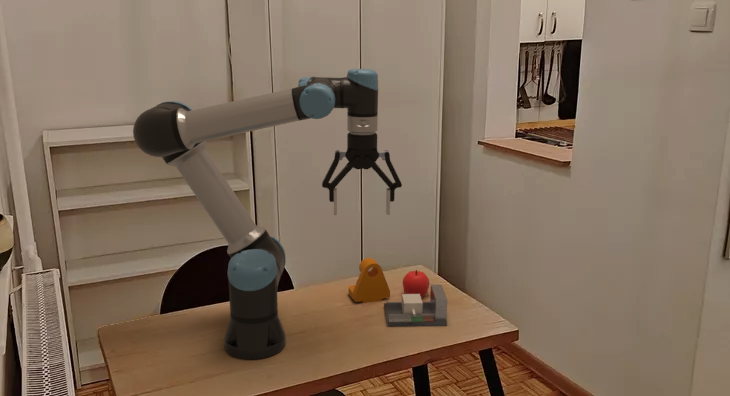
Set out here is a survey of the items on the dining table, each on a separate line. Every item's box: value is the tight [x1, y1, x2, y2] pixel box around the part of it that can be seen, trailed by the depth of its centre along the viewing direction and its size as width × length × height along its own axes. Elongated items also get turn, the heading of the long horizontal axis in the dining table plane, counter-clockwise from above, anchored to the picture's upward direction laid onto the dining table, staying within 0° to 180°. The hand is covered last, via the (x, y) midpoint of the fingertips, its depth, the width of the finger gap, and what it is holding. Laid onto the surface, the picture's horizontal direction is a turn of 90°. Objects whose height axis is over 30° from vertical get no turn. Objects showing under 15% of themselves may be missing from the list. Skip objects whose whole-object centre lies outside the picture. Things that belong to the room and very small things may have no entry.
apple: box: [402, 269, 430, 298], centre depth 195 cm, size 8×8×8 cm
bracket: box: [348, 257, 391, 304], centre depth 193 cm, size 11×7×12 cm
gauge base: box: [383, 284, 448, 328], centre depth 182 cm, size 16×12×7 cm
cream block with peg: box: [401, 293, 423, 316], centre depth 180 cm, size 5×9×4 cm, turn 3°
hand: (361, 213), depth 171 cm, fingers open, 13 cm apart
